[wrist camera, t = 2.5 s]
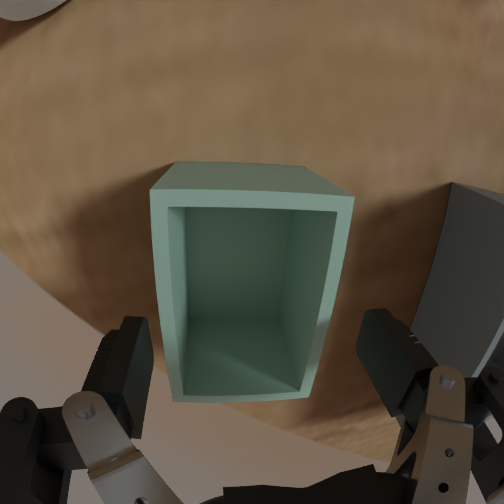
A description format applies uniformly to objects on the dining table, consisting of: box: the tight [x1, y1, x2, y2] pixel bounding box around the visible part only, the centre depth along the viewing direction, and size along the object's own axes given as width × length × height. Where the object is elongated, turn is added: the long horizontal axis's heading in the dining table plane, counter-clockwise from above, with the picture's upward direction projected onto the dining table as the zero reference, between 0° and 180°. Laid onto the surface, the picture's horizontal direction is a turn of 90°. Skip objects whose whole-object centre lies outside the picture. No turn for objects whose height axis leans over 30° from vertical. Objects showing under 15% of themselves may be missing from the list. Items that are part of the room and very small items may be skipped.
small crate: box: [150, 162, 355, 403], centre depth 13 cm, size 9×6×6 cm, turn 176°
